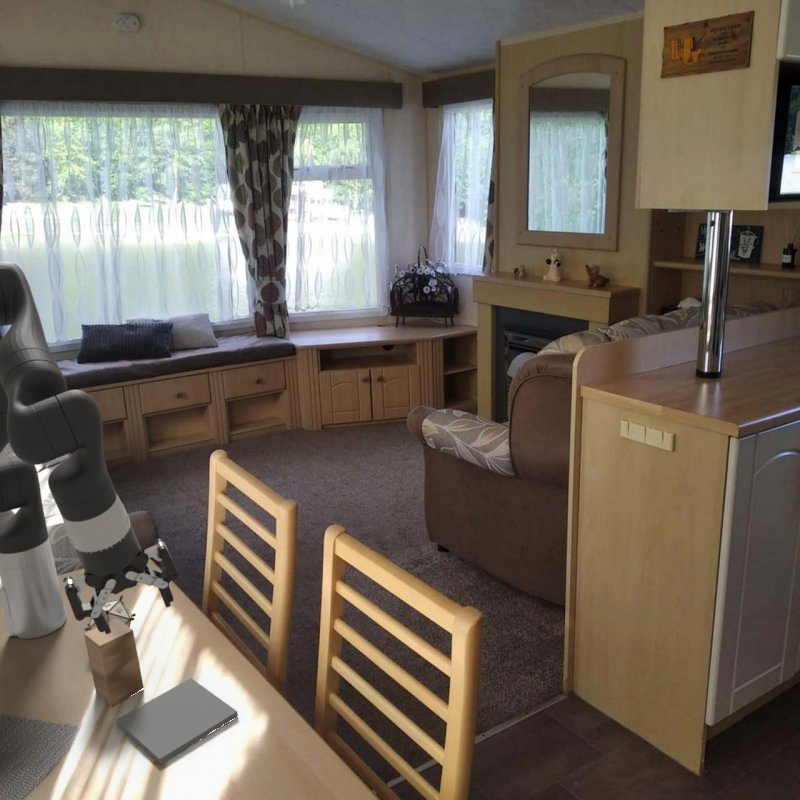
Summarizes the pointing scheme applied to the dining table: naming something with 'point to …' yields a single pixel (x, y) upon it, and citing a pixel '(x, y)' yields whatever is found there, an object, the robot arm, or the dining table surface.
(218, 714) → the rubber mat
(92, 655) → the walnut block
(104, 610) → the game die
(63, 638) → the dining table surface
